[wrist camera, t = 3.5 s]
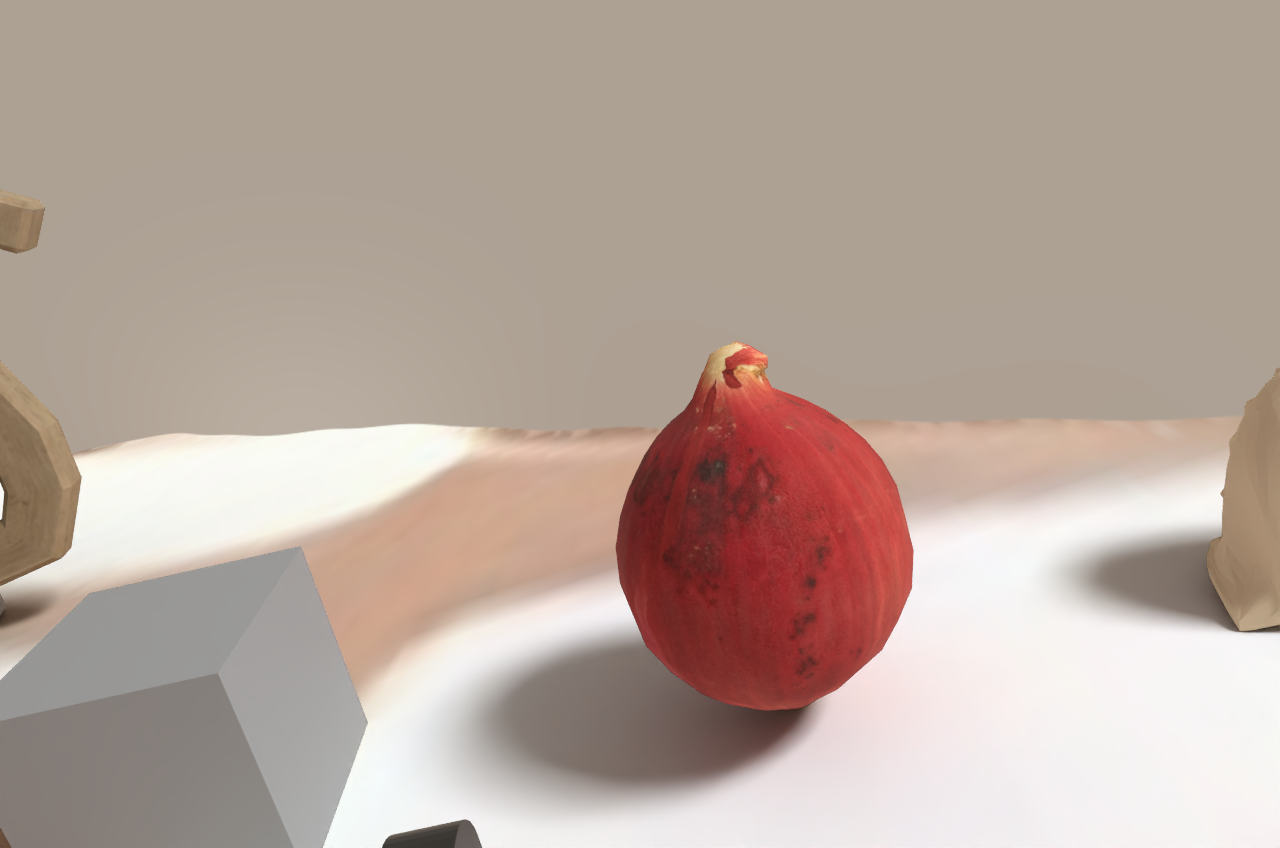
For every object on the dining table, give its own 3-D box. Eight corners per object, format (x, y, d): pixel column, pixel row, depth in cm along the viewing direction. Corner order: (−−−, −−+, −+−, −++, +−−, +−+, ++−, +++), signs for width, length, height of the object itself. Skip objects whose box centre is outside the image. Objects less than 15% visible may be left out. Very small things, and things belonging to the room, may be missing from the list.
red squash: (888, 832, 16) (818, 404, 14) (610, 771, 19) (509, 412, 17) (958, 641, 21) (916, 293, 18) (726, 616, 24) (661, 315, 21)
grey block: (63, 939, 18) (-54, 732, 17) (172, 768, 23) (89, 593, 21) (310, 887, 18) (218, 672, 16) (368, 724, 23) (301, 546, 21)
